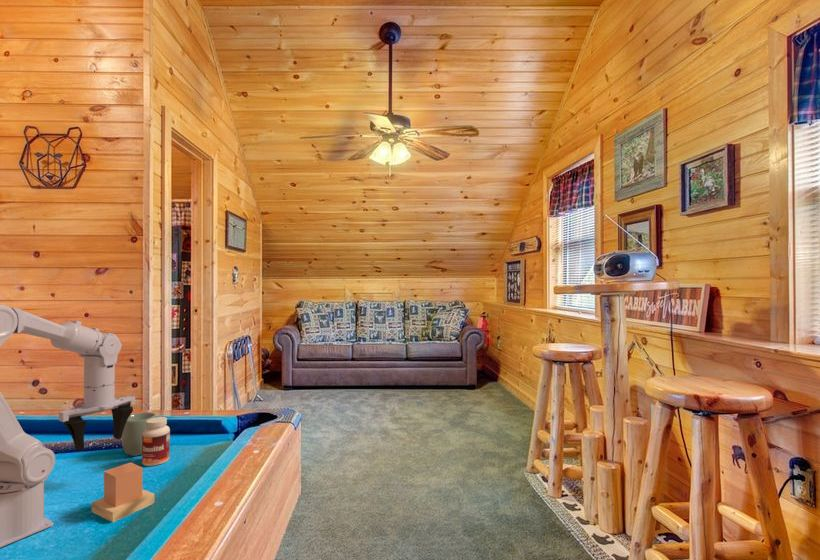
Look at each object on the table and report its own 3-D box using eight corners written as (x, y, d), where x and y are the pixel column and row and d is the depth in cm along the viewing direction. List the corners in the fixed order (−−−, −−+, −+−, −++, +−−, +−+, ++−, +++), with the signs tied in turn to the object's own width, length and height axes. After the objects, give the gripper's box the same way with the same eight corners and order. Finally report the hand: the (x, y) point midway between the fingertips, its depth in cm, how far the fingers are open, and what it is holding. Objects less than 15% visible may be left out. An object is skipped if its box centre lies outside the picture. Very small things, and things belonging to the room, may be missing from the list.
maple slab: (112, 525, 80) (112, 512, 80) (91, 514, 84) (91, 502, 84) (154, 505, 87) (154, 493, 87) (133, 496, 91) (133, 485, 91)
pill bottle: (138, 468, 103) (138, 424, 104) (146, 458, 109) (146, 417, 109) (166, 465, 105) (166, 422, 105) (172, 455, 111) (172, 415, 111)
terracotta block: (115, 507, 82) (115, 477, 82) (103, 500, 85) (104, 471, 85) (142, 496, 86) (142, 467, 86) (130, 490, 89) (130, 462, 89)
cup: (114, 456, 110) (114, 419, 110) (141, 445, 118) (141, 411, 118) (136, 460, 108) (136, 422, 108) (162, 448, 116) (162, 413, 116)
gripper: (69, 394, 86) (69, 459, 86) (142, 380, 99) (142, 436, 99) (54, 390, 89) (54, 452, 89) (126, 376, 102) (126, 431, 102)
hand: (99, 443), depth 94 cm, fingers open, 7 cm apart
